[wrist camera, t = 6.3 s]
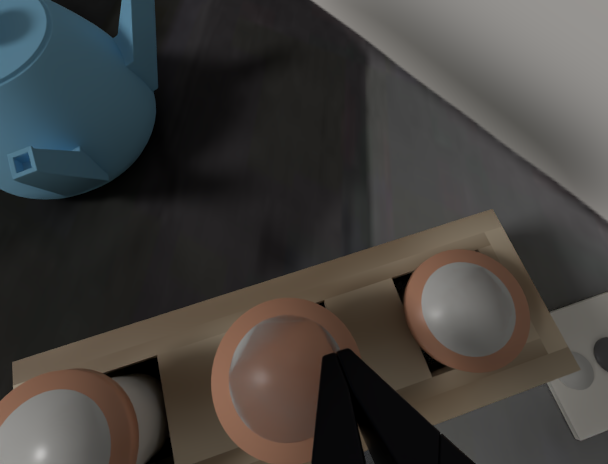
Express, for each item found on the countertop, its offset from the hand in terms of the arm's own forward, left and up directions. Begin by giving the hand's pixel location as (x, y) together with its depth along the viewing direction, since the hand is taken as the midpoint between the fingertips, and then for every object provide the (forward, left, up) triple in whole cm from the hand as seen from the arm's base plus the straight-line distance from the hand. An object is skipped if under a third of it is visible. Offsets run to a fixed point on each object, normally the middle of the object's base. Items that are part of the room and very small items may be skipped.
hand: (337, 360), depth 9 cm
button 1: (-2, -6, -9) cm, 11 cm away
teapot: (+26, +4, -12) cm, 29 cm away
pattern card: (-12, -14, -12) cm, 22 cm away
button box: (+1, +2, -12) cm, 12 cm away
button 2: (+4, +9, -7) cm, 12 cm away
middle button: (+1, +2, -7) cm, 7 cm away
